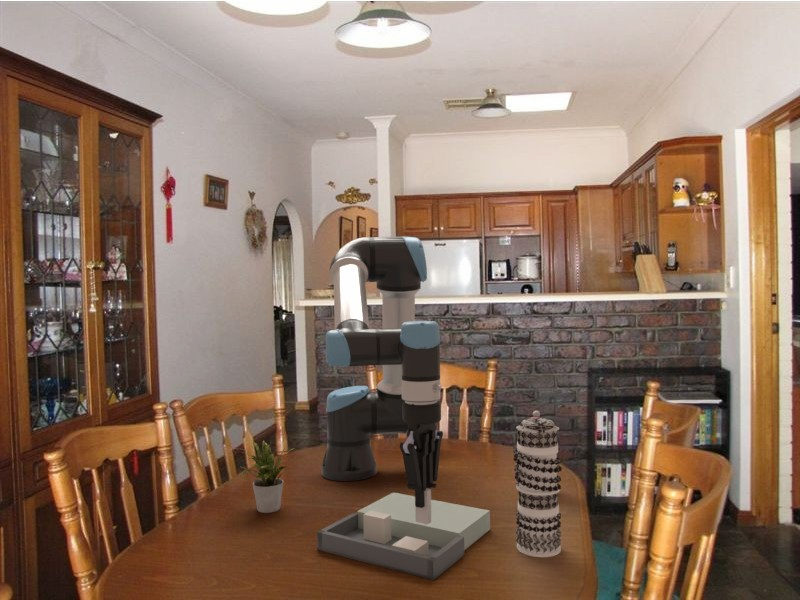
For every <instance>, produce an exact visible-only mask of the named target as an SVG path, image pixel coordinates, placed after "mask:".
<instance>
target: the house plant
mask: <svg viewBox="0 0 800 600" xmlns="http://www.w3.org/2000/svg"><path fill="white" fill-rule="evenodd" d="M249 440H250V439H249ZM250 442H252V443H253V445H254V447H255V450H256V452H257V453H256V454H257V455H258V457H257V456H256V455H251V454H250V452H249V451H246V449H243V448H241V450H243V452H242V453H244V454H246V455H247V457H249V458H248V459H252V461H253V462H254V463H253V464H252V465H253V466H254V467H256V468H257V470H258V471H256V470H255V469H247V468H246V467H244V466H241V468H243V469H244V470H243V471H242V473H241V474H240V476H242V475H244V474H246V473H248V472H249V473H251V474H252V475H253V476H254V477H256V480H254V481H253V482H252V489H253V492H254V499H255V505H256V510H257V511H258V512H259V513H263V514H264V513H265V514H268V513H275V512H278V511H279V510H280V509H281V503H282V496H283V495H282V494H283V489H284V480H283V479H282V478H280V477H281V476H282V475H283V474H285V473H286V472H288V471H289V472H290V471H294V470H293V469H287V470H284V471H283V472H282V473H281V471H282V470H283V469H286V468H287V466H285V465H281V466H279V465H280V464H281V463H283V461H285V459H283V458H284V457H285V455H286V454H288V453H289V452H291V451H293V450H294V449H295V447H294V448H291V449H290V450H288V451H287V452H286V453H284V452H285V450H286V448H287V446H285V447H284V448H283V449H282V452H281V453H280V455H279V456H278V458H277V460H276V462H275V454H273V453H272V449H271V445H272V442H273V440H271V441H270V444H268V443H267V442H266V441H265V440H263V441H262V448H260V447H259V446H260V445H258V443H257V442H255V441H253V440H252V439H251V440H250ZM261 449H262V451H261ZM235 450H238V448H236V447H235ZM246 452H247V453H246ZM283 454H285V455H283ZM282 455H283V457H281V456H282ZM274 464H275V465H274ZM252 472H254V473H255V474H253V473H252ZM256 473H257V474H256ZM280 473H281V474H280ZM278 475H279V476H278ZM277 476H278V477H277Z"/></svg>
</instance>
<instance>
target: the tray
mask: <svg viewBox="0 0 800 600" xmlns="http://www.w3.org/2000/svg"><path fill="white" fill-rule="evenodd" d="M316 539H317V541H316V549H317V550H318V551H321V552H324V553H328V554H333V555H335V556H339V557H344V558H347V559H351V560H355V561H358V562H363V563H366V564H369V565H374V566H377V567H381V568H385V569H388V570H389V569H390V570H393V571H397V572H400V573H405V574H408V575H411V576H416V577H418V578H419V577H420V578H423V579H426V580H427V579H428V580H431V581H435V580H436V579H437V578H438V577H440V575H442V574H443V573H444V572H445V571H447V570H448V569H449V568H450V567H452V566H453V565H454V564H455V563H456V562H458V561H459V560H461V559H462V558H463V557H464V556H465V550H464V537H462V536H457V537H456V538H455V539H453V540H452V541H451V542H449V543H448V544H447V545H445V546H444V547H438V546H434V545H430V544H428V550H429V554H428V555H427V556H426V555H422V554H418V553H414V552H410V551H406V550H402V549H397V548H393V547H392V545H393V544H394V543H396V542H398V541H399V540H401V539H402V538H399V537H395V536H391V540H390V541H388V542H387V543H385V544H383V543H378V542H374V541H370V540H366V539H364V529H360V528H358V514H357V512H353V513H351V514H349V515H347V516H345V517H343V518H341V519H339V520H337V521H335V522H333V523H331V524H329V525H328V526H326V527H324V528H322V529H319V530H318V531H317V532H316Z"/></svg>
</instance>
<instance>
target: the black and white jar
mask: <svg viewBox="0 0 800 600" xmlns="http://www.w3.org/2000/svg"><path fill="white" fill-rule="evenodd" d="M533 417H534V416H533ZM515 428H516V429H517V441H516V446H515V447H514V446H513V451H512V453H514V454H513V461H515V465H514V472H515V473H514V474H515V475H514V479H515V480H516V482H515V484H516V485H515V486H516V487H515V489H516V490H517V492H518V495H517V496H518V500H517V510H516V511H515V512H516V513H515V516H517V518H516V521H515V523H516V525H517V527H516V530H515V533H516V538H515V541H516V542H517V543H516V549H517V550H518V551H519V552H520V554H521V553H522V554H523V555H525V556H529V557H532V558H551V557H554V556H558V555H559V554H560V553H562V549H561V548H562V547H561V545H562V539H561V537H562V531H561V530H560V528H561V526H562V522H561V521H560V520H561V519H562V518H561V517H562V514H561V513H560V505H559V504H560V503H559V492H561V489H562V486H561V485H560V484H559V483H560V482H562V477H561V476H559V475H558V473H559V472H562V470H563V468H562V466H560V465H559V464H561V463H562V462H563V460H562V458H560V456H558V453H559V451H560V450H561V449H560V447H559V443H558V431H559V430H560V427H559V426H556V424H555V423H554V421H553V420H551V419H549V418H546V417H542V418H537V417H534V418H531V417H528V418H527V417H526V418H525V419H523V420H521V423H520V424H519V425H516V427H515Z"/></svg>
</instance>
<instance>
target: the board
mask: <svg viewBox="0 0 800 600" xmlns="http://www.w3.org/2000/svg"><path fill="white" fill-rule="evenodd" d="M369 511H375V512H380V513H384V514H389V515H391V536H395V537H399V538H404V537H405V536H408V537H412V538H416V539H421V540H425V541H428V544H430V545H434V546H438V547H444V546H445V545H447V544H448V543H449V542H451V541H452V540H453V539H455V538H456V537H457V536H462V537H464V551H465V550H467V549H468V548H469V547H470V546H472V545H473V544H474V543H475V542H477V540H479V539H481V537H483V536H484V535H485V534H487V533H488V532H489V531H490V530H491V511H490V510H489V509H483V508H478V507H472V506H467V505H463V504H456V503H452V502H451V503H450V502H446V501H443V500H442V501H440V500H435V499H431V523H429V524H423V523H419V522H416V517H415V495H409V494H404V493H399V492H393V491H392V492H391V493H389V494H388V495H385V496H383V497H381V499H378V500H376V501H374V502H372V503H371V504H368V505H366V506H365V507H363V508H361V509H359V510H357V512H356V514H358V528H360V529H364V523H363V514H365V513H367V512H369Z"/></svg>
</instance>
